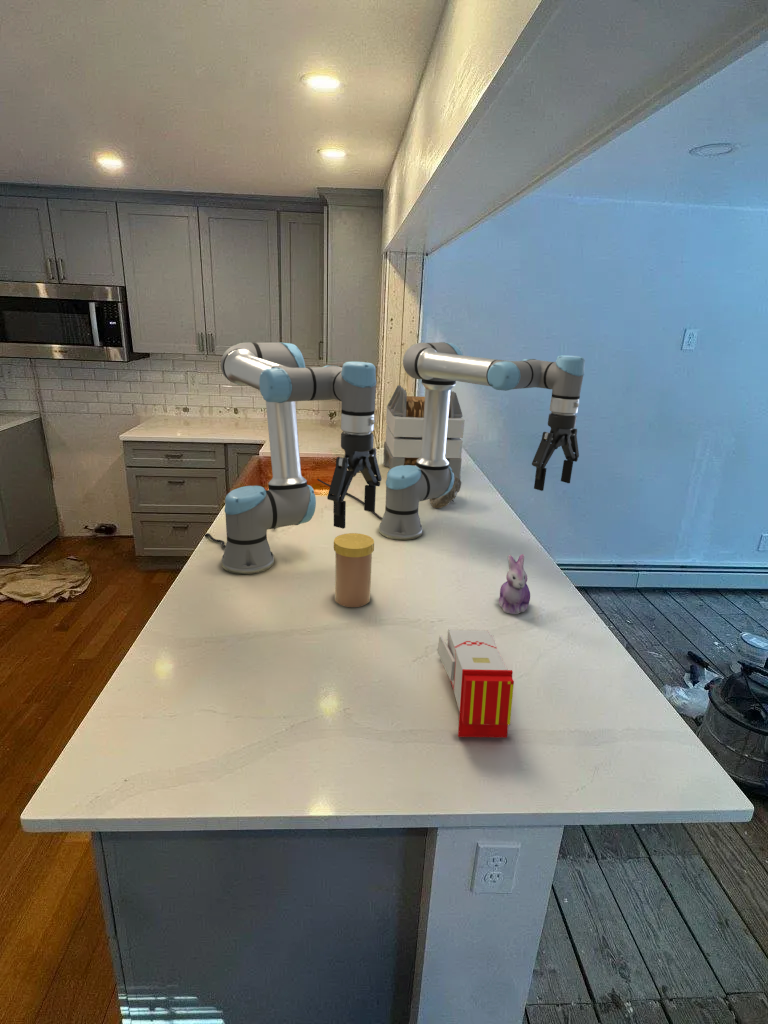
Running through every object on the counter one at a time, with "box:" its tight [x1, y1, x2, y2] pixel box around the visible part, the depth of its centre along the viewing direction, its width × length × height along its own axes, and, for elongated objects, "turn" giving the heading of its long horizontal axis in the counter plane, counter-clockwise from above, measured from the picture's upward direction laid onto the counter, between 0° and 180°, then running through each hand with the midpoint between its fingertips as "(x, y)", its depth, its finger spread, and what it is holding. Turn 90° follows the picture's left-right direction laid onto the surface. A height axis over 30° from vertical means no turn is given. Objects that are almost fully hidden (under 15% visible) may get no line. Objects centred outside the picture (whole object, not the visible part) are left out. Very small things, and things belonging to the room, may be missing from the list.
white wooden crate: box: [383, 384, 465, 480], centre depth 268 cm, size 34×33×41 cm
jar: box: [334, 552, 373, 608], centre depth 151 cm, size 10×10×17 cm
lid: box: [333, 532, 375, 557], centre depth 149 cm, size 11×11×2 cm
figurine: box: [498, 553, 531, 615], centre depth 151 cm, size 9×10×15 cm
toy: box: [437, 628, 515, 738], centre depth 117 cm, size 12×13×30 cm
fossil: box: [429, 477, 462, 509], centre depth 234 cm, size 22×10×15 cm
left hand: (355, 518), depth 137 cm, fingers open, 13 cm apart
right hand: (552, 485), depth 166 cm, fingers open, 13 cm apart
